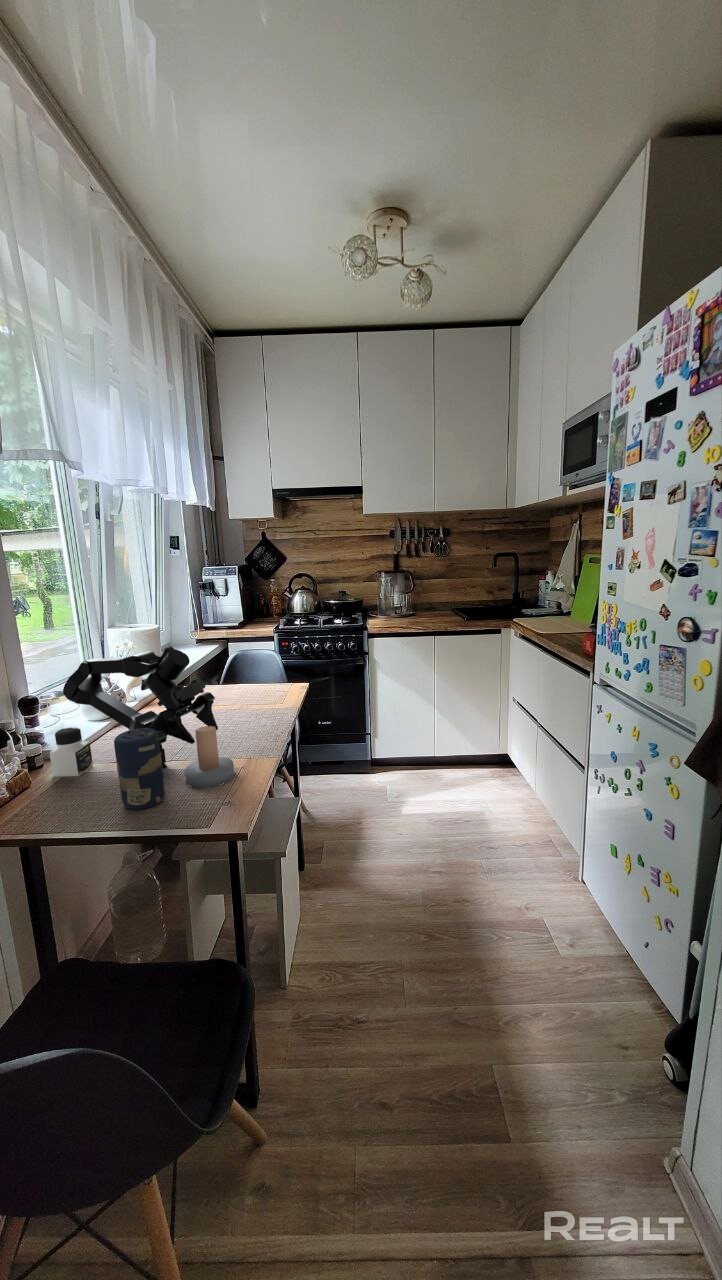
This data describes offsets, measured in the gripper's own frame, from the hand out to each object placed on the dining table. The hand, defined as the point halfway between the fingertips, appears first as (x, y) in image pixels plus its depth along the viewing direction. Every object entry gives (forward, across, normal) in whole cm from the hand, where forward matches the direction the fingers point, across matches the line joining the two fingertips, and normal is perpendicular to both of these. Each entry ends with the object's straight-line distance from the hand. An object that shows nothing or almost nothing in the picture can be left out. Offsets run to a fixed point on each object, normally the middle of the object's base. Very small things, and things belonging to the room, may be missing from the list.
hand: (205, 736), depth 130 cm
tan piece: (+6, 0, +6) cm, 8 cm away
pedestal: (+8, 0, +8) cm, 11 cm away
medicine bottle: (-20, -8, +36) cm, 42 cm away
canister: (+3, -16, +13) cm, 20 cm away
